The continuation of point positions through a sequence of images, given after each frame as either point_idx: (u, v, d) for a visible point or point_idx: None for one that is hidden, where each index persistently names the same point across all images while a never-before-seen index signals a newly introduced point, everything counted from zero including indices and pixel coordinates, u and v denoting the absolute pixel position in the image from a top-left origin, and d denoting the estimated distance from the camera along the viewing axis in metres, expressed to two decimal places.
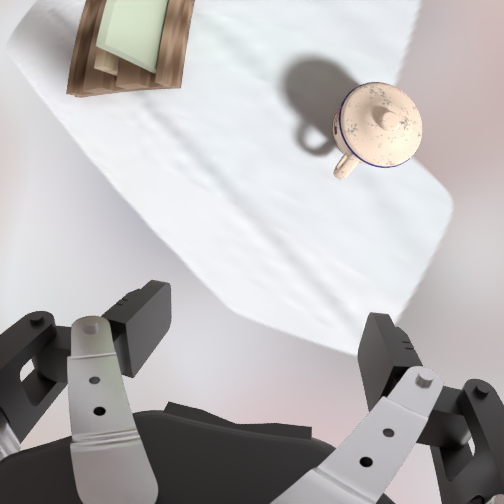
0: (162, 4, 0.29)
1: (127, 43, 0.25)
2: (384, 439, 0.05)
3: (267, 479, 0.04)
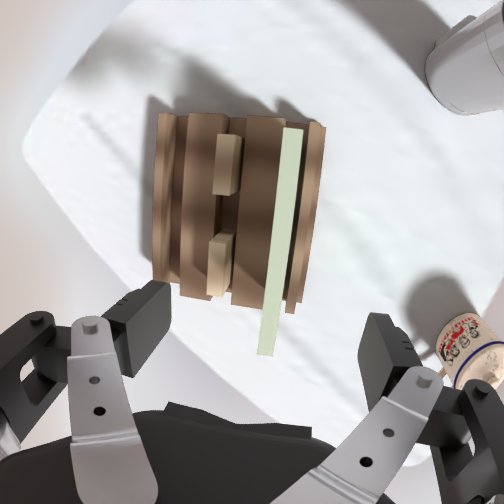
0: None
1: None
2: (383, 439, 0.05)
3: (267, 479, 0.04)
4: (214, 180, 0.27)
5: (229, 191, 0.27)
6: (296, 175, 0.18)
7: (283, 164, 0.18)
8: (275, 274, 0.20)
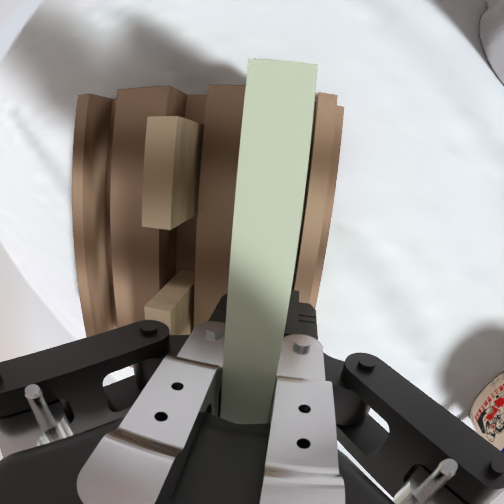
0: None
1: None
2: (303, 416, 0.05)
3: None
4: (144, 202, 0.14)
5: (170, 222, 0.15)
6: (294, 222, 0.05)
7: (250, 184, 0.05)
8: None
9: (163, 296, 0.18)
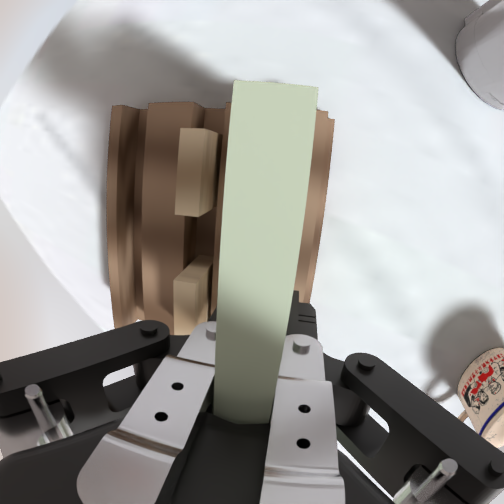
0: None
1: None
2: (303, 416, 0.05)
3: None
4: (177, 195, 0.19)
5: (198, 210, 0.19)
6: (288, 277, 0.05)
7: (237, 234, 0.05)
8: None
9: (188, 273, 0.22)
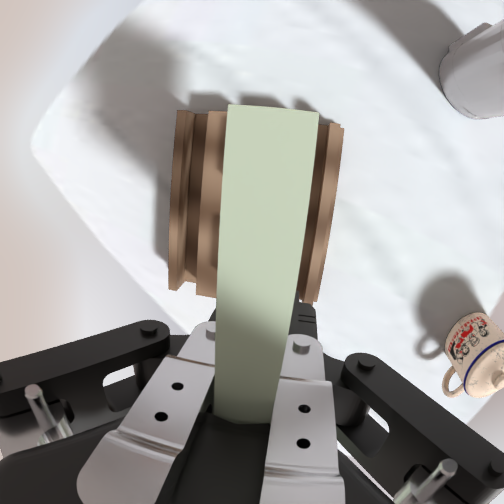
0: None
1: None
2: (303, 416, 0.05)
3: None
4: None
5: None
6: (285, 307, 0.05)
7: (234, 265, 0.05)
8: None
9: None
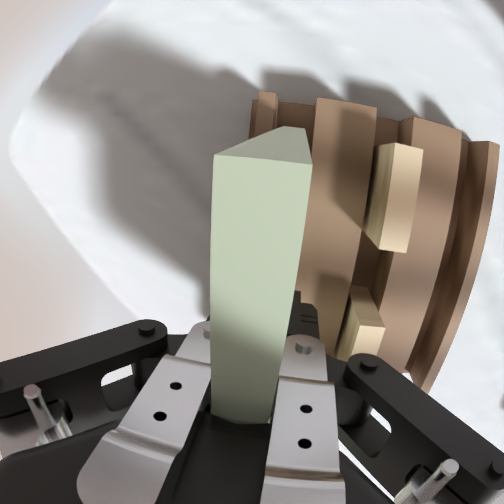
0: None
1: None
2: (305, 416, 0.05)
3: None
4: (386, 226, 0.15)
5: (406, 245, 0.15)
6: (276, 349, 0.05)
7: (225, 312, 0.05)
8: None
9: (364, 313, 0.18)
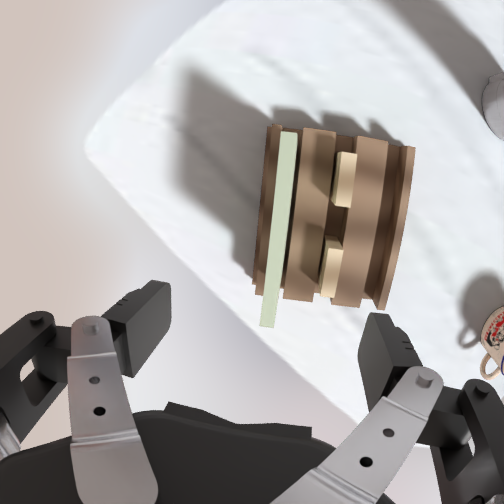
0: None
1: (278, 294, 0.30)
2: (384, 439, 0.05)
3: (267, 479, 0.04)
4: (338, 193, 0.30)
5: (350, 203, 0.30)
6: (291, 170, 0.22)
7: (281, 161, 0.22)
8: (274, 253, 0.24)
9: (332, 244, 0.33)
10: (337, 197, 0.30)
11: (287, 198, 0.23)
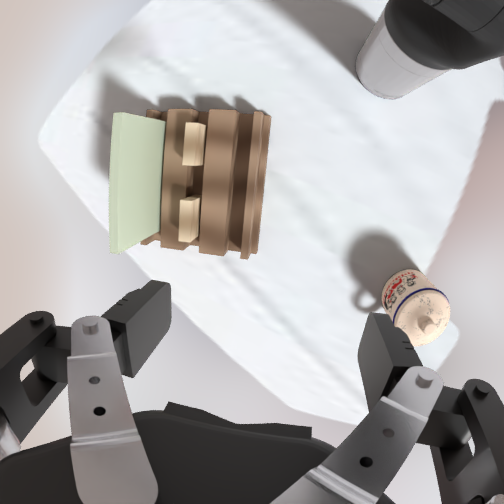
0: (158, 165, 0.40)
1: (135, 234, 0.37)
2: (384, 439, 0.05)
3: (267, 479, 0.04)
4: (184, 155, 0.37)
5: (194, 162, 0.37)
6: (119, 137, 0.29)
7: (113, 133, 0.29)
8: (112, 196, 0.31)
9: (188, 198, 0.40)
10: (183, 158, 0.37)
11: (117, 157, 0.30)
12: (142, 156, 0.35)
